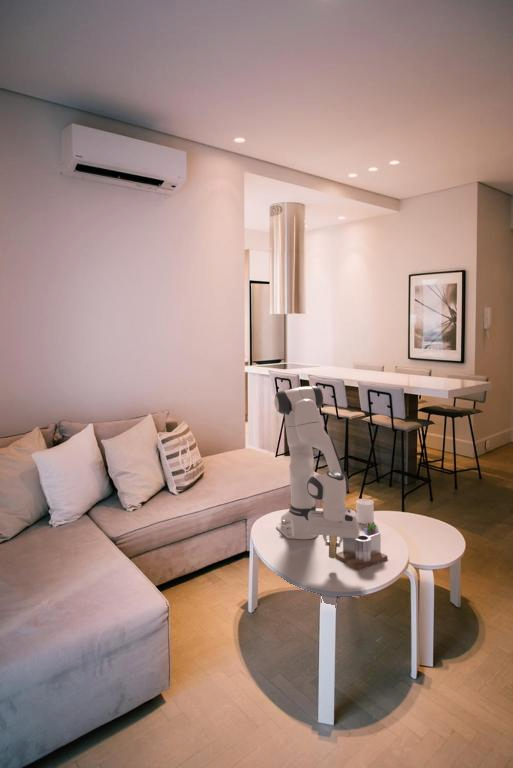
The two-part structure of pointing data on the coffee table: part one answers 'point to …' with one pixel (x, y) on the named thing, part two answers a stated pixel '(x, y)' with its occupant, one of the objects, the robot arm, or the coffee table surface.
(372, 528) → the geometric puzzle
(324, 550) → the coffee table surface
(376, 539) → the grey socket block
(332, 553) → the pin
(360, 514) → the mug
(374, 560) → the base board
